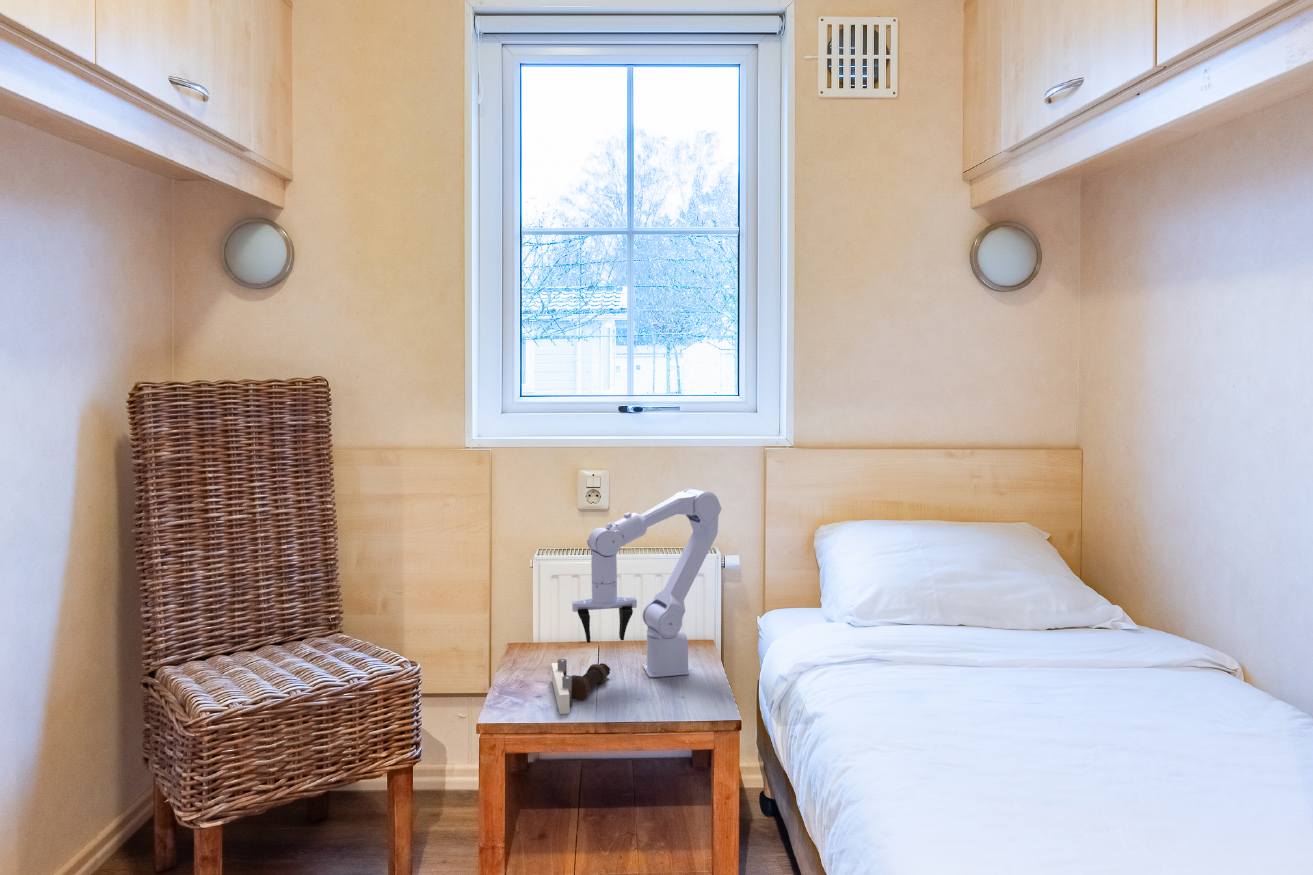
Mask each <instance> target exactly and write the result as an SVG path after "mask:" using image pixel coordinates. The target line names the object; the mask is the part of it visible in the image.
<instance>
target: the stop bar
mask: <svg viewBox="0 0 1313 875" xmlns="http://www.w3.org/2000/svg"><path fill="white" fill-rule="evenodd" d="M567 670H568V668H567V659H565V658H561V659H560V658H559V659H557V662H552V663H551V681H552V682H551V683H552V688H553V690H554V695H555V699H556V703H557V708H558V713H559V715H565V714H567V715H568V714H570V713H571V712H570V711H571V710H570V709H571V708H570V707H572V706H573V700H572V677H571V676H572V675H568V674H567V673H568V671H567Z"/></svg>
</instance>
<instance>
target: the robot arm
mask: <svg viewBox="0 0 1313 875" xmlns="http://www.w3.org/2000/svg"><path fill="white" fill-rule="evenodd" d="M721 511H722V506H721V504H720V501H719V498H718V497H717V495H716V494H715V493H713V492H711V491H703V490H701V489H697V488H694V487H689V488H686V489H684V490H683V491H681V490H680V491H678V492H676V493H675V494H674V495H672V496H671V497H669V498H667V499H665V500H664V501H662V502H661V503H658V504H657V505H655V506H653V507H651V508H650V509H648V510H646V511H644V512H642V513H641V514H639V513H637V512H632V513H631V512H628V511H627V512H625V513H624V514H623V516H624V517H622V518H619V519H617V520H616V521H614V522H612V523H611V522H607V523H606V524H605V527H597V528H595V529H593V530H592V531H591V533H590V534H589V536H588V539H587V540H586V544H587V546H588V549H590V550H591V562H590V563H591V566H590V567H591V598H588V599H587V598H586V599H583V600H582V599H581V600H573V601H572V602H571V606H572V612H574V613H575V612H577V614H578V617H579V619H580V621H581V623H582V626H583V629H584V633H585V640H586V642H587V643H588V644H590V643H591V629H590V627H591V624H590V623H591V615H590V611H593V610H594V611H595V610H607V609H608V610H609V609H611V610H612V609H618V615H619V616H618V617H619V631H618V633H619V634H618V635H619V639H620V641H624V640H625V635H626V630H627V627H628V624H629V623H630V619H631V617H632V615H633V612H634V610H633V609H637V608H638V607H637V606H638V605H637V604H638V600H637V598H636V597H621V596H620V597H618V575H617V572H618V568H617V567H618V566H617V553H618V552H619V551H620V549H621V547H624V546H626V545H627V544H629V543H631V542H633V541H635V540H637V539H639V538H641V537H643V536H645V535H646V532H647V530H648V528H649V527H651V526H654V525H656V524H658V523H660V522H662V521H664V520H667V519H669V518H672V517H674V516H676V515H685V516H686V518H687V519H688V521H689V522H690V526H691V529H692V533H691V535H690V537H689V539H688V540H687V543H686V545H685V546H684V549H683V550H682V553H681V555H680V557H679V558H678V561H677V562H676V564H675V567H674V568H673V571H672V572H671V575H670V576H669V578H668V580H667V582H666V584H665V586H664V588H663V590H661V591H659V592H658V593H656V594H655V595H654V597H653V599H652V600H651V602H649V603H648V604H646V606H645V607H644V609H643V610H642V621H643V623H644V624H645V625H646V626H647V630H646V658H647V659H646V664H644V663H643V665H642V667H643V669H644V671H645V673H646V674H647V676H648V677H649V678H660V677H672V676H674V677H675V676H684V675H689V674H690V671H689V643H688V638H687V635H686V633H685V632H681V629H682V626H683V617H684V616H685V613H686V606H685V600H686V597H687V595H688V593H689V591H690V589H691V588H692V585H693V583H694V582H695V579H696V577H697V575H698V573H699V571H700V569H701V567H702V565H703V564H704V561H705V559H706V558H707V555H708V553H709V551H710V549H711V547H712V546H713V544H714V541H715V540H716V538H717V535H718V532H719V531H718V530H719V529H718V528H719V516H720V513H721Z"/></svg>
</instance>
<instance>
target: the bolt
mask: <svg viewBox="0 0 1313 875" xmlns="http://www.w3.org/2000/svg"><path fill="white" fill-rule="evenodd" d="M610 674H611V667H610V666H608V665H607V664H606V663H603V662H602V663H599V664H598V663H597V664H596V663H594V664H593V663H592V664H591V665H590V666H589V667H588V669H587V670H586V673H585V674H583V675H574V674H572V675H570V676H571V677H572V701H579V702H584V701H585V700H586V699H587V698H588V696H589V694H590V692H591V691H592V688H593V687H595V686H602V685H603V684H604V683H605V682H606V680H607V678H608V676H609V675H610Z"/></svg>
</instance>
